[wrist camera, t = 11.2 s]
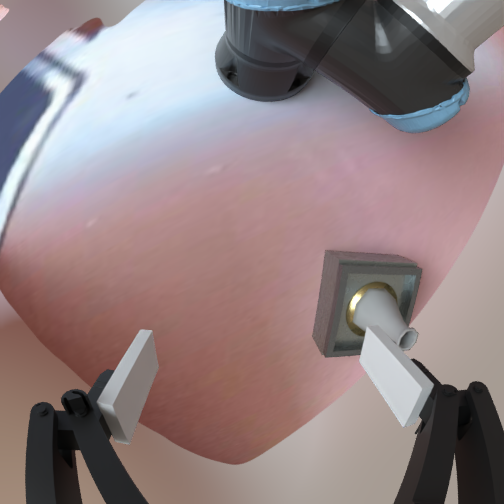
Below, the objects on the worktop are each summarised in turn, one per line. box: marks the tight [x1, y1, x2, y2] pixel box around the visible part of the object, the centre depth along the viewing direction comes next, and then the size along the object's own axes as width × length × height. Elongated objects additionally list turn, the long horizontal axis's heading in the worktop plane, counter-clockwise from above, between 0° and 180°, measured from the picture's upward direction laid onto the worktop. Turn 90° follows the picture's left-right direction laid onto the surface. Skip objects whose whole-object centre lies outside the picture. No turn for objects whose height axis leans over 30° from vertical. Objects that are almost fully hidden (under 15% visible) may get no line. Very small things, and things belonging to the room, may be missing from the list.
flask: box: [352, 288, 418, 351], centre depth 32 cm, size 7×7×10 cm
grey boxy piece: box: [312, 250, 422, 358], centre depth 39 cm, size 15×14×8 cm
